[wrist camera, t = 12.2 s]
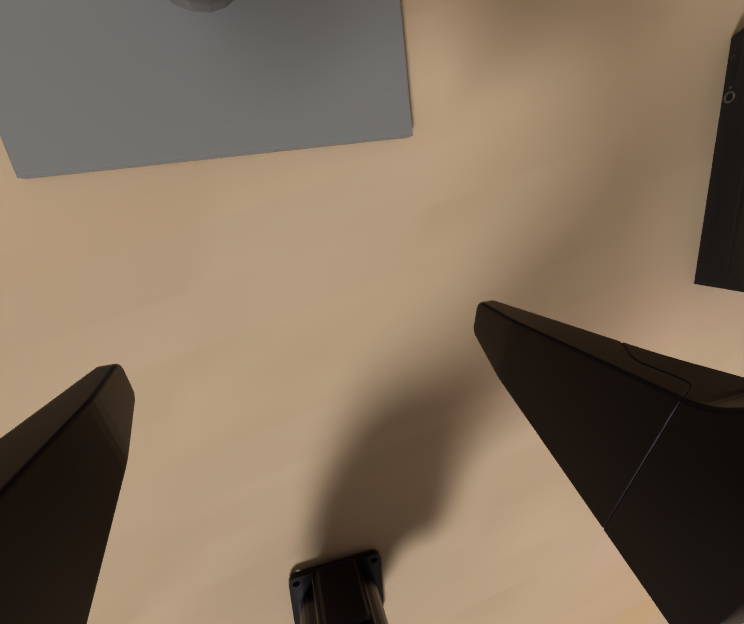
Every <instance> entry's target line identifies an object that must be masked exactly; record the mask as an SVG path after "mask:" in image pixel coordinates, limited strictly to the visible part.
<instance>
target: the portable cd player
mask: <svg viewBox="0 0 744 624" xmlns="http://www.w3.org/2000/svg"><path fill="white" fill-rule="evenodd" d="M694 284H699V285H705V286H711V287H717V288H722V289H728V290H734V291H740V292H744V28H743V29H742V30H741V31H739V32H738V33H737V34H736V35H734V36H733V37H732V38H731V44H730V51H729V58H728V64H727V71H726V77H725V84H724V90H723V97H722V104H721V110H720V117H719V123H718V130H717V136H716V143H715V149H714V156H713V163H712V169H711V176H710V182H709V189H708V195H707V202H706V209H705V215H704V222H703V228H702V235H701V241H700V248H699V255H698V261H697V268H696V274H695V281H694Z"/></svg>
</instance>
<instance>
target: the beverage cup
mask: <svg viewBox="0 0 744 624" xmlns="http://www.w3.org/2000/svg"><path fill="white" fill-rule="evenodd" d="M169 1H170V2H172V3H173V4H175V5H177V6H179V7H182V8H185V9H187V10H190V11H193V12H214V11H217V10H220V9H223V8H226V7H227V6H228V5H229V4H230V3H232V2H233V1H234V0H169Z"/></svg>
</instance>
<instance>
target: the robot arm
mask: <svg viewBox="0 0 744 624" xmlns="http://www.w3.org/2000/svg"><path fill="white" fill-rule="evenodd" d="M474 333H475V336H476V337H477V339H478V341H479V343H480V345H481V347H482V348H483V350H484V352H485V354H486V356H487V358H488V360H489V361H490V363H491V365H492V367H493V369H494V371H495V372H496V374H497V376H498V377H499V379H500V380H501V382H502V383H503V385H504V386H505V388H506V389H507V391H508V392H509V394H510V395H511V396H512V398H513V399H514V401H515V402H516V404H517V405H518V406H519V408H520V409H521V411H522V412H523V414H524V415H525V417H526V418H527V419H528V421H529V422H530V424H531V425H532V427H533V428H534V430H535V431H536V432H537V434H538V435H539V437H540V438H541V440H542V441H543V443H544V444H545V445H546V447H547V448H548V450H549V451H550V453H551V454H552V455H553V457H554V458H555V460H556V461H557V463H558V464H559V466H560V467H561V468H562V470H563V471H564V473H565V474H566V476H567V477H568V479H569V480H570V481H571V483H572V484H573V486H574V487H575V489H576V490H577V491H578V493H579V494H580V496H581V497H582V499H583V500H584V502H585V503H586V504H587V506H588V507H589V509H590V510H591V512H592V513H593V515H594V516H595V517H596V519H597V520H598V522H599V523H600V525H601V526H602V527H603V528H604V531H605V532H606V534H607V535H608V537H609V538H610V539H611V541H612V542H613V544H614V545H615V547H616V548H617V549H618V551H619V552H620V554H621V555H622V557H623V558H624V560H625V561H626V562H627V564H628V565H629V567H630V568H631V570H632V571H633V573H634V574H635V575H636V577H637V578H638V580H639V581H640V583H641V584H642V585H643V587H644V588H645V590H646V591H647V593H648V594H649V596H650V597H651V598H652V600H653V601H654V603H655V604H656V606H657V607H658V609H659V610H660V611H661V613H662V614H663V616H664V617H665V619H666V620H667V622H668V623H669V624H742V623H744V377H740V376H736V375H733V374H729V373H726V372H722V371H718V370H715V369H711V368H707V367H704V366H700V365H697V364H693V363H689V362H686V361H682V360H679V359H675V358H672V357H668V356H665V355H662V354H658V353H655V352H652V351H649V350H645V349H642V348H639V347H636V346H633V345H630V344H627V343H621V342H620V341H617V340H614V339H611V338H608V337H605V336H602V335H599V334H596V333H593V332H589V331H586V330H583V329H580V328H577V327H574V326H571V325H568V324H565V323H562V322H559V321H556V320H552V319H549V318H546V317H543V316H540V315H537V314H534V313H531V312H528V311H525V310H522V309H519V308H515V307H512V306H509V305H506V304H503V303H500V302H497V301H493V300H491V301H485V302H481V303H479V304H478V306H477V311H476V317H475V323H474ZM134 403H135V396H134V391H133V389H132V386H131V384H130V382H129V380H128V378H127V376H126V374H125V372H124V370H123V368H122V367H121V366H120V365H119V364H111V365H105V366H99V367H97V368H95V369H94V370H92V371H91V372H90V373H88V374H87V375H86V376H84V377H83V378H82V379H80V380H79V381H78V382H76V383H75V384H73V385H72V386H71V387H69V388H68V389H67V390H65V391H64V392H63V393H61V394H60V395H59V396H57V397H56V398H55V399H53V400H52V401H50V402H49V403H48V404H46V405H45V406H44V407H42V408H41V409H40V410H38V411H37V412H36V413H34V414H33V415H31V416H30V417H29V418H27V419H26V420H25V421H23V422H22V423H21V424H19V425H18V426H17V427H15V428H14V429H13V430H11V431H10V432H8V433H7V434H6V435H4V436H3V437H2V438H0V624H87V620H88V616H89V612H90V608H91V604H92V600H93V596H94V593H95V589H96V585H97V581H98V577H99V573H100V569H101V565H102V561H103V557H104V553H105V549H106V545H107V541H108V537H109V533H110V529H111V525H112V521H113V517H114V513H115V509H116V505H117V501H118V497H119V493H120V489H121V485H122V481H123V478H124V474H125V469H126V465H127V460H128V453H129V445H130V437H131V428H132V420H133V411H134ZM295 581H296V582H295ZM289 589H290V596H291V602H292V609H293V615H294V622H295V624H388V621H387V618H386V615H385V611H384V608H383V592H382V575H381V558H380V555H379V552H378V551H377V550H371V551H368V552H364V553H361V554H358V555H354V556H351V557H348V558H344V559H341V560H338V561H334V562H331V563H327V564H324V565H321V566H317V567H314V568H311V569H307V570H304V571H301V572H297V573H294V574H292V575H291V576H290V578H289Z"/></svg>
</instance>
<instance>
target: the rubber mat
mask: <svg viewBox="0 0 744 624" xmlns="http://www.w3.org/2000/svg"><path fill="white" fill-rule="evenodd" d="M412 135H413V133H412V122H411V112H410V101H409V90H408V80H407V69H406V58H405V48H404V37H403V26H402V15H401V5H400V0H234V1H233V2H232V3H230V4H229V5H228V6H227V7H226V8H223V9H220V10H217V11H214V12H193V11H190V10H187V9H185V8H182V7H179V6H177V5H175V4H173V3H172V2H170V1H169V0H0V136H1V139H2V141H3V144H4V146H5V149H6V151H7V154H8V156H9V158H10V161H11V163H12V166H13V168H14V171H15V173H16V176H17V178H23V179H29V178H38V177H48V176H57V175H66V174H75V173H84V172H94V171H103V170H112V169H121V168H131V167H140V166H149V165H158V164H168V163H177V162H186V161H195V160H204V159H214V158H223V157H232V156H241V155H251V154H260V153H269V152H278V151H287V150H297V149H306V148H315V147H324V146H334V145H343V144H352V143H361V142H370V141H380V140H389V139H398V138H407V137H410V136H412Z"/></svg>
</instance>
